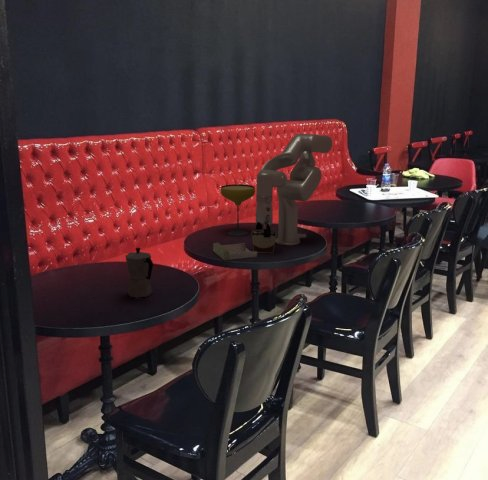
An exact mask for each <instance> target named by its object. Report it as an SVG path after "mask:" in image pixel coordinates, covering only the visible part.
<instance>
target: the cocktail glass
mask: <svg viewBox="0 0 488 480" xmlns="http://www.w3.org/2000/svg"><path fill="white" fill-rule="evenodd" d="M255 187H256V186H255V185H254V186H253V185H251V184H240V183H239V184H236V183H235V184H234V183H233V184H225V185H222V186H221V187H220V194H221V196H222V197H224V199H227V200H229V202H230V201H231V203H234V205H235V206H236V207H237V209H236V211H237V217H236V218H237V221H236V224H237V225H236V230H235V229H234V230H230V231H228V232H227V234H228V235H230V236H236V237H239V236H240V237H241V236H246V235H248V234H249V232H248V231H246V230H241V229H240V222H239V210H240V209H239V206H241V205H242V203H244V202H246V201H247V200H249V199H251V198H253V197H254V196H255V195H256V188H255Z"/></svg>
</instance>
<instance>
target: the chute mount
mask: <svg viewBox="0 0 488 480" xmlns="http://www.w3.org/2000/svg"><path fill="white" fill-rule="evenodd" d="M212 244H213V245H212V246H213V249H212V250H213V253H215V254H216V255H217V256H218V257H219V258H220V259H222V260H223V261H229V260H241V259H250V258H257V257H258V253H257V251H253V250H252V251H251V250H249V248H247V247H246V246H247V245H246V243H245V242H243V243H234V244H231V243H230V244H220V242H214V243H212Z"/></svg>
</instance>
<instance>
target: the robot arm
mask: <svg viewBox="0 0 488 480" xmlns="http://www.w3.org/2000/svg"><path fill="white" fill-rule="evenodd" d="M332 148H333V140H332V138H331V137H330V136H329V135H322V134H321V135H319V134H316V133H315V134H314V133H311V134H310V133H297V134H295V135H293V136H292V137H291V139H290V140H289V142H288V144H286V146H285V148H284V149H283V151H282V152H280V153H279V154H277V155H275V156H274V157H272V158H270V159H269V160H267V161H266V162H265V163H264V164H263V166H262V167H261V168H260V171H259V172H258V173H257V175H256V186H255V187H256V188H255V195H256V197H255V202H256V208H255V214H254V215H255V230H259V229H264V238H268V237H270V236H271V230H272V227H273V225H272V224H273V220H274V219H273V218H274V217H273V215H274V214H273V191H274V190H273V189H274V188H276V193H277V199H278V200H277V201H278V225H277V226H278V229H277V231H278V232H277V237H276V238H275V244H277V245H281V246H296V245H299V244H300V243H301V238H302V239H305V238H307V234H306V233H298V218H299V215H298V213H299V208H298V203H297V202H296V201H299V202H306V201H309V199H311V198H312V195H313V194H314V193H315V191H316V190H317V188H318V186H319V185H320V183H321V180H322V170H321V169H320V168H319V167H318V166H316V160H315V157H314V154H313V153H318V154H319V153H321V154H327V153H329V152H330V151H331V150H332ZM291 166H293V168H292V169H291V170H290V172H289V179H288V175H287V174H286V173H285V172H284V171H279V170H281V169H284V168H288V167H291ZM263 227H264V228H263Z"/></svg>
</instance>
